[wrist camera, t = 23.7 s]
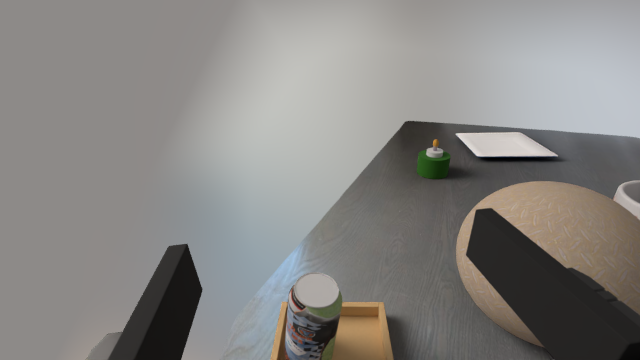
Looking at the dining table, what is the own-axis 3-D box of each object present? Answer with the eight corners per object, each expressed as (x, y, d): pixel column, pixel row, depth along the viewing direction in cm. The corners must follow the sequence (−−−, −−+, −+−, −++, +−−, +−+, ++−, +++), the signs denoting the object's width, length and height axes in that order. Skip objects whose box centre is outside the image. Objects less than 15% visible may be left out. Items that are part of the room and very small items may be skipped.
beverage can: (282, 341, 38) (270, 274, 33) (334, 326, 40) (331, 260, 35) (291, 391, 33) (278, 321, 28) (350, 370, 35) (350, 300, 29)
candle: (423, 164, 88) (426, 133, 83) (451, 170, 83) (456, 137, 78) (412, 174, 82) (415, 141, 78) (441, 181, 77) (447, 146, 73)
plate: (556, 161, 84) (559, 155, 83) (476, 162, 87) (477, 155, 86) (519, 137, 104) (520, 132, 103) (454, 138, 107) (455, 133, 106)
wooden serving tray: (263, 423, 31) (259, 410, 30) (284, 313, 43) (282, 301, 42) (401, 428, 30) (403, 415, 29) (382, 314, 42) (383, 302, 41)
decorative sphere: (471, 382, 33) (514, 246, 24) (433, 261, 51) (450, 156, 42) (672, 402, 30) (804, 258, 22) (558, 267, 48) (604, 156, 39)
